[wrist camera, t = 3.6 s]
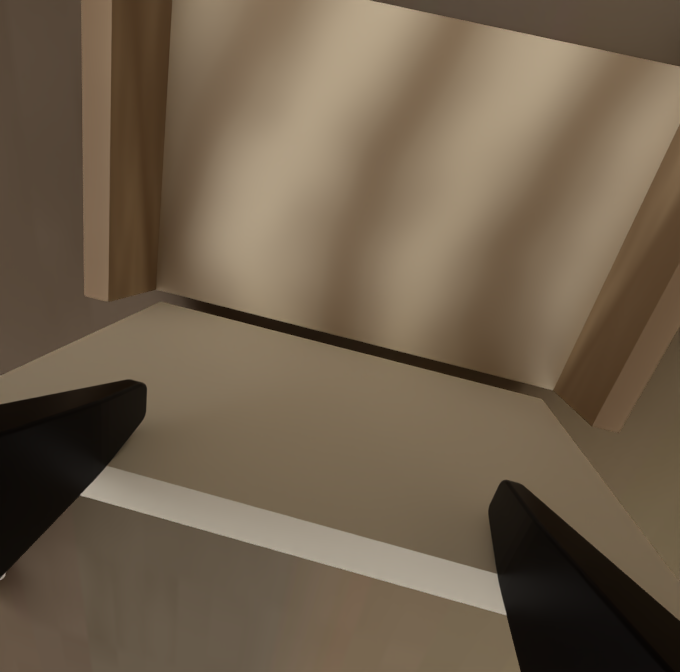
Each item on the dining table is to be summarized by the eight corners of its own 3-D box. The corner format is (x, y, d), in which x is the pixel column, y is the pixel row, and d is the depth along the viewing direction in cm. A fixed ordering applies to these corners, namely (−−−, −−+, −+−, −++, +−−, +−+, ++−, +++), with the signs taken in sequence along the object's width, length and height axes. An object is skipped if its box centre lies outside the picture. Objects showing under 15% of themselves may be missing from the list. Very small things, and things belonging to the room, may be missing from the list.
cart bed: (702, 91, 13) (848, 29, 9) (561, 384, 17) (618, 433, 13) (168, -24, 14) (79, -130, 10) (152, 280, 17) (84, 295, 13)
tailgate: (542, 399, 15) (719, 635, 7) (526, 428, 16) (670, 676, 8) (160, 301, 16) (-82, 413, 8) (160, 333, 17) (-63, 468, 8)
